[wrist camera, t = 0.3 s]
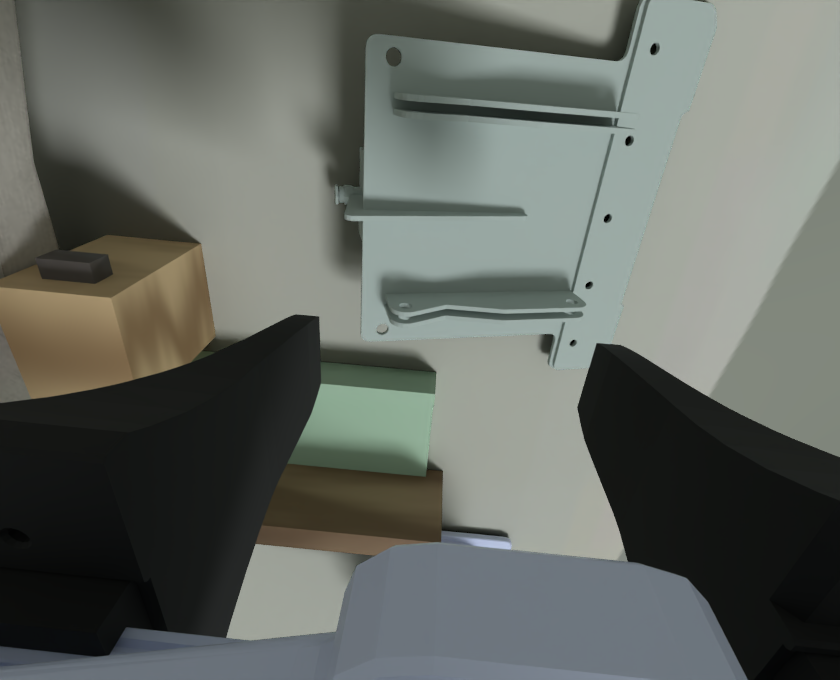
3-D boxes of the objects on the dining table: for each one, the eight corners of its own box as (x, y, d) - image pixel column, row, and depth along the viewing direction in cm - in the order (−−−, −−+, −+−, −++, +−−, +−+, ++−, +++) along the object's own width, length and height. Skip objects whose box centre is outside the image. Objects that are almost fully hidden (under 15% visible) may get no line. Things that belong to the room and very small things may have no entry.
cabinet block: (215, 336, 24) (142, 412, 18) (131, 327, 24) (31, 401, 18) (198, 226, 21) (105, 276, 15) (103, 217, 21) (-25, 264, 15)
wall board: (440, 488, 28) (438, 561, 24) (154, 461, 28) (100, 528, 24) (442, 470, 27) (441, 543, 23) (149, 443, 28) (93, 508, 23)
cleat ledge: (426, 469, 27) (424, 495, 26) (165, 444, 28) (146, 468, 26) (436, 372, 24) (435, 394, 22) (139, 345, 24) (115, 364, 23)
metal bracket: (344, 406, 19) (343, -73, 11) (335, 337, 24) (330, -27, 16) (643, 383, 22) (789, 2, 15) (580, 327, 27) (667, 21, 20)
